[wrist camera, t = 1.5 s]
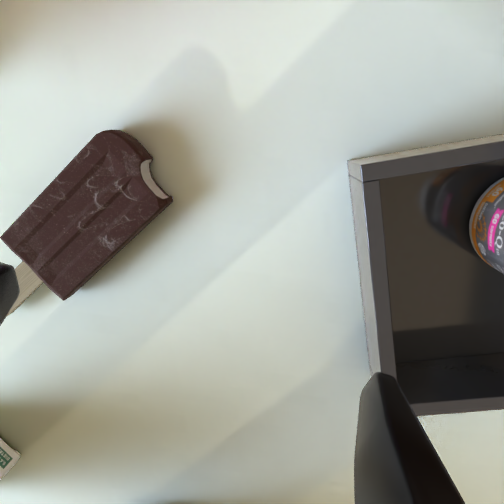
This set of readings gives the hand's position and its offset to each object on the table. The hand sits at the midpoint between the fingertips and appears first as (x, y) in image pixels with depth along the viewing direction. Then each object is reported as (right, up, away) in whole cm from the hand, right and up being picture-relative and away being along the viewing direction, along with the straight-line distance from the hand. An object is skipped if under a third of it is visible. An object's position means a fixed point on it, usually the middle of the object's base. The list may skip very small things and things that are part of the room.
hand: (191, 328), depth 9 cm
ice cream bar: (-10, +3, +15) cm, 18 cm away
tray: (+15, +1, +13) cm, 20 cm away
